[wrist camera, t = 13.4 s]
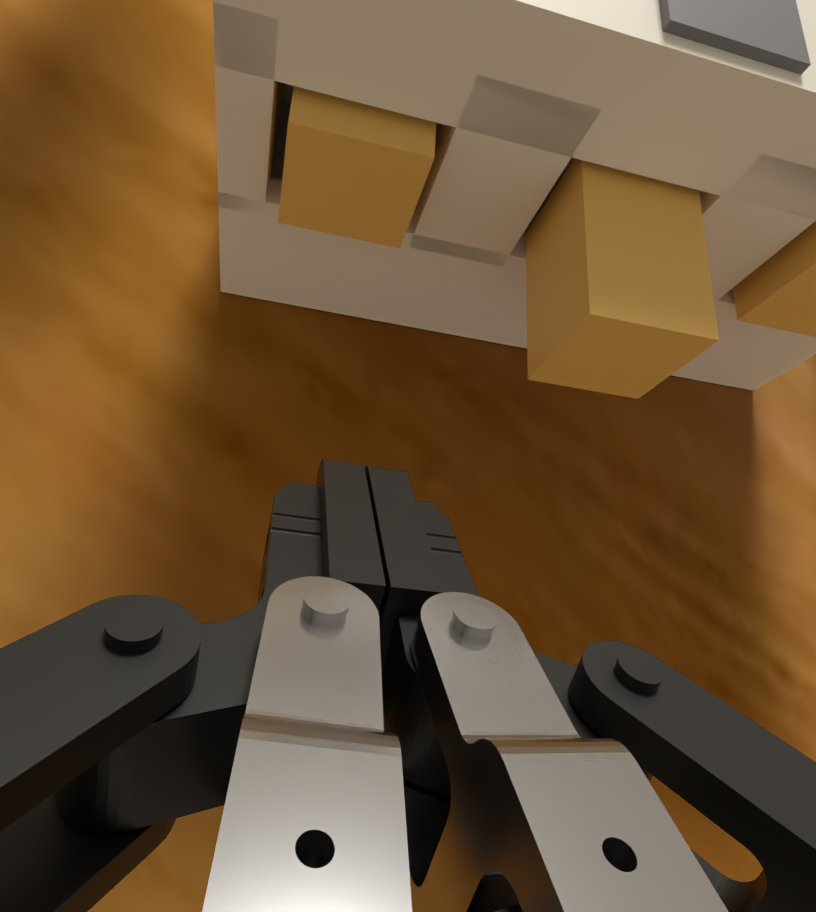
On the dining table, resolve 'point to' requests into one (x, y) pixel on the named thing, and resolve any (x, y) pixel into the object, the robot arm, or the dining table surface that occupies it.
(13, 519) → the dining table surface
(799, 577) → the dining table surface
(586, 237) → the button
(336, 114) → the button
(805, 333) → the button
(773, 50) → the block
